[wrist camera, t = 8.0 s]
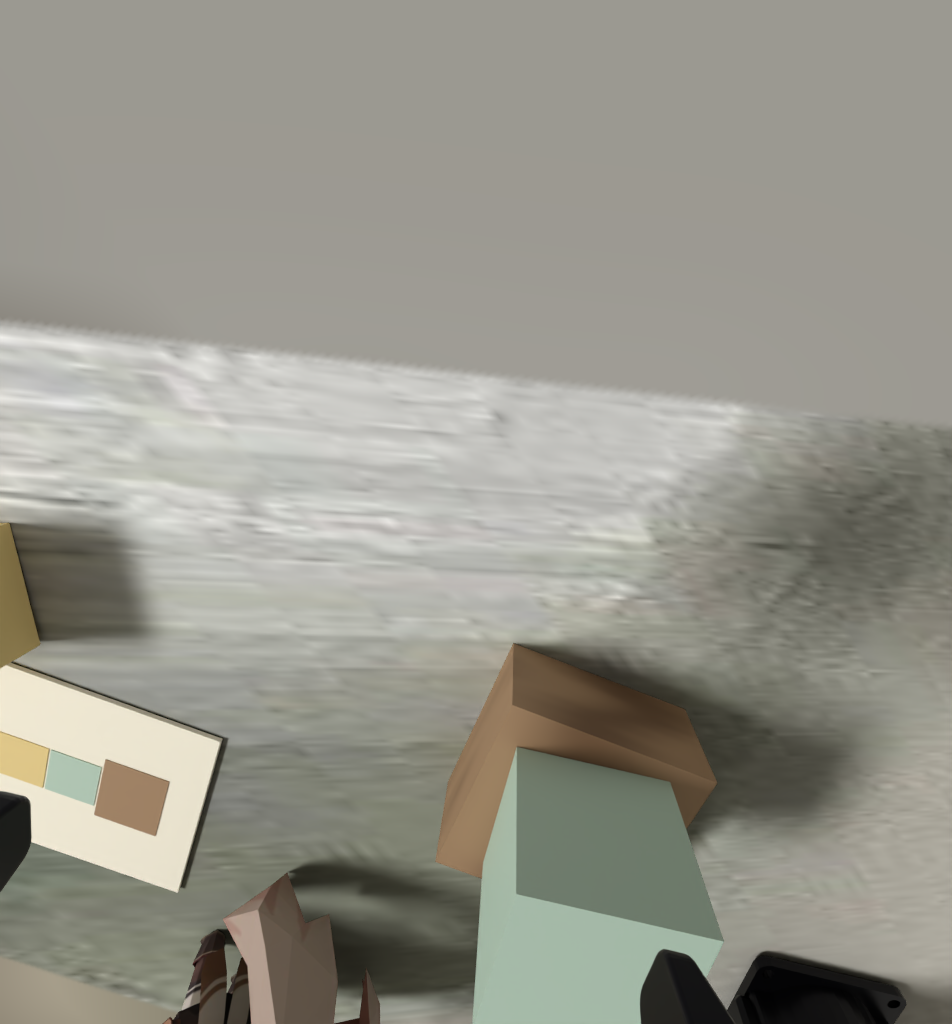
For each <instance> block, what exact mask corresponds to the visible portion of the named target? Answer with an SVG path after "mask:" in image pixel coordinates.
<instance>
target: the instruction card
mask: <svg viewBox="0 0 952 1024" xmlns="http://www.w3.org/2000/svg"><path fill="white" fill-rule="evenodd" d="M222 740H223V739H222V738H219V737H216V736H213V735H211V734H208V733H205V732H202V731H199V730H197V729H194V728H191V727H188V726H186V725H183V724H180V723H177V722H174V721H172V720H169V719H166V718H163V717H160V716H158V715H155V714H152V713H149V712H147V711H144V710H141V709H138V708H135V707H133V706H130V705H127V704H124V703H121V702H119V701H116V700H113V699H110V698H108V697H105V696H102V695H99V694H96V693H94V692H91V691H88V690H85V689H83V688H80V687H77V686H74V685H71V684H69V683H66V682H63V681H60V680H57V679H55V678H52V677H49V676H46V675H44V674H41V673H38V672H35V671H32V670H30V669H27V668H24V667H21V666H18V665H16V664H13V663H9V664H7V665H5V666H4V667H2V668H0V791H6V792H10V793H14V794H18V795H22V796H26V797H27V798H28V799H29V800H30V803H31V834H32V838H31V842H33V843H36V844H39V845H42V846H44V847H47V848H50V849H53V850H56V851H59V852H62V853H65V854H68V855H70V856H73V857H76V858H79V859H82V860H85V861H88V862H91V863H94V864H96V865H99V866H102V867H105V868H108V869H111V870H114V871H117V872H119V873H122V874H125V875H128V876H131V877H134V878H137V879H140V880H143V881H145V882H148V883H151V884H154V885H157V886H160V887H163V888H166V889H169V890H171V891H174V892H177V893H178V891H179V890H180V887H181V884H182V880H183V877H184V873H185V870H186V866H187V863H188V859H189V856H190V852H191V849H192V845H193V842H194V838H195V835H196V831H197V828H198V824H199V821H200V817H201V814H202V810H203V806H204V803H205V799H206V796H207V792H208V789H209V785H210V782H211V778H212V775H213V771H214V768H215V764H216V761H217V757H218V754H219V750H220V747H221V743H222Z"/></svg>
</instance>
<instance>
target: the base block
mask: <svg viewBox="0 0 952 1024" xmlns="http://www.w3.org/2000/svg"><path fill="white" fill-rule="evenodd" d="M517 747H520V748H524V749H528V750H533V751H537V752H542V753H546V754H550V755H555V756H559V757H563V758H568V759H572V760H577V761H581V762H585V763H590V764H594V765H598V766H603V767H607V768H612V769H616V770H620V771H625V772H629V773H633V774H638V775H642V776H647V777H651V778H655V779H660V780H664V781H668V782H670V783H671V786H672V789H673V792H674V795H675V798H676V801H677V804H678V807H679V810H680V813H681V816H682V819H683V822H684V825H685V827H686V829H687V828H688V826H689V825H690V823H691V822H692V820H693V819H694V817H695V816H696V814H697V813H698V811H699V810H700V808H701V807H702V805H703V804H704V802H705V801H706V799H707V798H708V796H709V795H710V793H711V792H712V790H713V789H714V787H715V786H716V784H717V781H716V779H715V776H714V774H713V772H712V769H711V767H710V765H709V763H708V760H707V758H706V756H705V754H704V751H703V749H702V747H701V744H700V742H699V740H698V738H697V735H696V733H695V731H694V729H693V726H692V724H691V722H690V720H689V717H688V715H687V713H686V710H685V709H683V708H680V707H678V706H675V705H672V704H670V703H667V702H665V701H662V700H659V699H657V698H654V697H652V696H649V695H646V694H644V693H641V692H639V691H636V690H633V689H631V688H628V687H626V686H623V685H620V684H618V683H615V682H613V681H610V680H607V679H605V678H602V677H600V676H597V675H595V674H592V673H589V672H587V671H584V670H582V669H579V668H576V667H574V666H571V665H569V664H566V663H563V662H561V661H558V660H556V659H553V658H550V657H548V656H545V655H543V654H540V653H537V652H535V651H532V650H530V649H527V648H524V647H522V646H519V645H517V644H514V643H513V645H512V647H511V649H510V652H509V654H508V656H507V658H506V660H505V662H504V664H503V666H502V669H501V671H500V673H499V675H498V677H497V679H496V681H495V683H494V686H493V688H492V690H491V692H490V694H489V696H488V698H487V700H486V703H485V705H484V707H483V709H482V711H481V713H480V715H479V717H478V720H477V722H476V724H475V726H474V728H473V730H472V732H471V734H470V736H469V739H468V741H467V743H466V745H465V747H464V749H463V751H462V753H461V756H460V758H459V760H458V762H457V764H456V766H455V768H454V770H453V773H452V775H451V777H450V779H449V781H448V786H447V792H446V798H445V805H444V811H443V817H442V823H441V830H440V836H439V842H438V849H437V855H436V861H435V862H438V863H440V864H443V865H446V866H449V867H451V868H454V869H457V870H460V871H462V872H465V873H468V874H471V875H473V876H476V877H479V878H481V879H482V871H483V861H484V858H485V854H486V851H487V847H488V844H489V841H490V837H491V834H492V830H493V827H494V823H495V820H496V816H497V813H498V810H499V806H500V803H501V799H502V796H503V792H504V789H505V786H506V782H507V779H508V775H509V772H510V768H511V765H512V761H513V758H514V755H515V751H516V748H517Z"/></svg>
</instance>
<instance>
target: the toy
mask: <svg viewBox="0 0 952 1024" xmlns="http://www.w3.org/2000/svg"><path fill="white" fill-rule="evenodd" d="M223 920H224V922H225V924H226V926H227V928H228V930H229V932H230V934H231V935H232V937H233V939H234V941H235V943H236V945H237V947H238V949H239V951H240V953H241V955H242V956H243V957H242V958H241V960H240V964H239V967H238V971H237V974H235V975H234V976H232V977H231V982H232V985H231V987H230V989H229V991H228V993H226V988H227V969H226V960H225V951H224V947H225V936H224V934H223V933H222V932H220V931H218V930H216V931H214V932H213V933H211V934H209V935H206V936H205V937H203V938H202V939H201V943H202V945H201V948H200V950H199V952H198V954H197V956H196V958H195V960H194V963H193V965H194V967H195V970H194V973H193V976H192V979H191V982H190V985H189V988H188V992H187V995H186V998H185V1001H184V1004H183V1007H182V1010H181V1011H179V1012H178V1014H177V1015H176V1017H175V1018H174V1020H172V1018H171V1017H170V1018H169V1019H167V1020H166V1021H165V1022H164V1023H163V1024H334V1015H335V1005H336V995H337V986H338V978H337V970H336V963H335V955H334V948H333V940H332V932H331V925H330V917H329V914H328V915H326V916H323V917H320V918H318V919H315V920H313V921H310V922H308V923H305V921H304V918H303V915H302V913H301V910H300V907H299V904H298V901H297V898H296V896H295V893H294V890H293V887H292V884H291V882H290V879H289V876H288V873H286V874H285V875H284V876H282V877H281V878H280V879H279V880H277V881H276V882H275V883H274V884H273V885H271V886H270V887H268V888H267V889H266V890H264V891H263V892H261V893H260V894H258V895H257V896H255V897H254V898H253V899H251V900H250V901H248V902H247V903H245V904H244V905H243V906H241V907H240V908H238V909H237V910H235V911H234V912H232V913H231V914H230V915H228V916H227V917H225V918H224V919H223ZM362 982H363V995H362V1002H361V1010H360V1018H358V1019H353V1020H349V1021H344V1022H340V1023H335V1024H380V1003H379V1000H378V998H377V995H376V992H375V990H374V987H373V984H372V982H371V979H370V976H369V974H368V971H367V968H366V972H365V980H364V981H363V979H362Z"/></svg>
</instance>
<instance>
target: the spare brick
mask: <svg viewBox="0 0 952 1024" xmlns="http://www.w3.org/2000/svg"><path fill="white" fill-rule="evenodd" d="M39 645H40V641H39V637H38V633H37V629H36V626H35V622H34V618H33V614H32V610H31V606H30V602H29V598H28V594H27V590H26V586H25V582H24V578H23V574H22V570H21V567H20V563H19V559H18V555H17V551H16V547H15V543H14V539H13V535H12V531H11V527H10V523H0V668H2V667H4V666H5V665H7V664H9V663H10V662H12V661H14V660H16V659H17V658H19V657H21V656H22V655H24V654H26V653H27V652H29V651H31V650H32V649H34V648H36V647H37V646H39Z"/></svg>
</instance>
